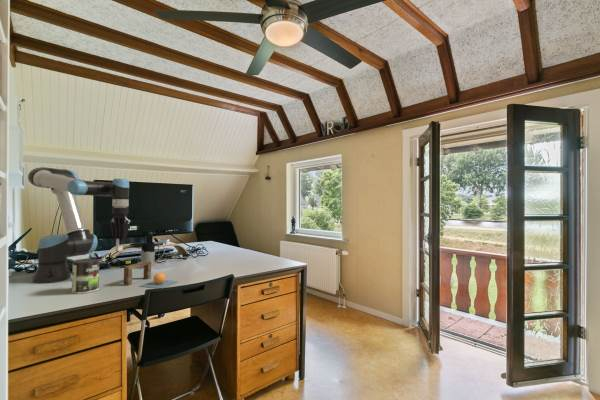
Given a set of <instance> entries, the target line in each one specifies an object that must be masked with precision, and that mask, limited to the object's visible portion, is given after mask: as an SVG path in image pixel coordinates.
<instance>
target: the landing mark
mask: <svg viewBox="0 0 600 400" xmlns="http://www.w3.org/2000/svg"><path fill="white" fill-rule="evenodd" d="M177 283H179V281H177V280H169V279H165V281H164V282H163V283H162V284H156V283H155V282H154V280H152V281H150V282H146V283H144V284H140V285H139V287H142V288H143V287H144V288H151V289H157V288H162V289H164V288H167V287H169V286H172V285H174V284H177Z"/></svg>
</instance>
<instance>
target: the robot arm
mask: <svg viewBox="0 0 600 400" xmlns="http://www.w3.org/2000/svg"><path fill="white" fill-rule="evenodd" d="M27 174H28V175H27V180H28V182H29V183H30V184H31V185H32V186H34V187H38V188H42V189H43V188H44V189H51V193H52V194H53V195H55V196H56V198H57V202H58V206H59V208H60V209H59V210H60V212H61V216H62V219H63V223H64V226H65V229H66V233H58V234H57V233H56V234H50V235H49V234H48V235H45V236H42V237H41V238H40V239H39V240H38V246H37V248H38V253H37V254H38V255H37V256H38V257H37V261H38V263H37V268H36V270H35V273H34V275H33V276H32V282H33V283H34V284H49V283H55V282H56V283H57V282H60V281H61V282H62V281H65V280H69V279H70V278H72V272H71V270H70V267H69V265H68V258H70V257H71V258H72V257H79V256H86V255H89V254H92V253H94V252H95V251H96V249H97V247H98V242H99V241H98V237H97V235H95V234H94V233H91V232H90V229H88V228H87V227H86V225H85V222H84V219H83V216H82V213H81V210H80V205H79V203H78V202H79V201H78V199H77V196H91V197H92V196H95V197H96V196H97V197H112V200H111V201H112V205H111V206H112V207H111V208H112V209H111V214H112V215H113V216H112V219H108V222H109V224H110V230H111V236H112V238H115V252H121V251H124V250H123V248H124V247H123V245H124V240H125V238H127V237H128V234H129V229H130V224H131V223H132V219H131V220H130V219H128V215H129V206H130V203H129V200H130V181H129V179H127V178H117V177H116V178H113V180H112V182H105V181H93V180H92V181H91V180H83V179H80V178H79V175H78V174H77V173H76V172H75V171H74V170H69V169H67V168H66V169H65V168H51V167H44V166H43V167H42V166H41V167H35V168H33V169H32V170H30V171H29V173H27Z"/></svg>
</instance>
